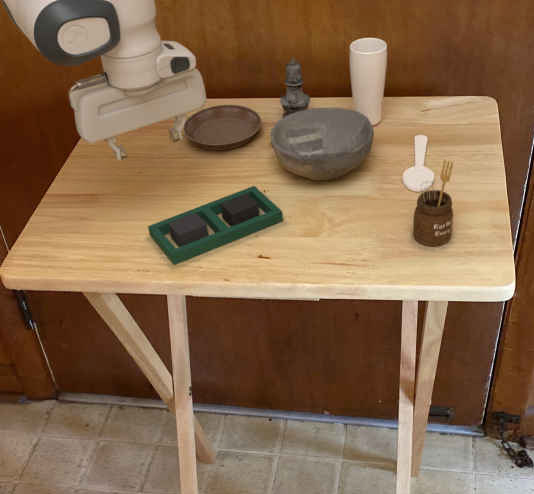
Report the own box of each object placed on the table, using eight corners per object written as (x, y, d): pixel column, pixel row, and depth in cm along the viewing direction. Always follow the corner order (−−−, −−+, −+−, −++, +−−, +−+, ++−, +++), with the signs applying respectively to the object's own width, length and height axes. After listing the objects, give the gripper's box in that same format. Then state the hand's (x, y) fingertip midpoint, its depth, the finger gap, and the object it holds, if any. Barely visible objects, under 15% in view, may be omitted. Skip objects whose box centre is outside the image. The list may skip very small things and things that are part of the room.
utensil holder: (405, 239, 128) (408, 173, 120) (427, 219, 131) (432, 154, 123) (437, 252, 125) (442, 186, 116) (459, 232, 128) (466, 166, 120)
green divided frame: (174, 265, 127) (172, 255, 126) (149, 235, 134) (147, 226, 132) (283, 221, 134) (282, 211, 132) (255, 195, 140) (254, 185, 139)
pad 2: (233, 229, 133) (231, 214, 131) (222, 218, 136) (220, 203, 134) (260, 219, 135) (258, 204, 133) (248, 207, 137) (246, 193, 135)
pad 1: (181, 250, 130) (178, 235, 128) (170, 238, 133) (168, 223, 131) (209, 239, 132) (206, 224, 130) (198, 227, 134) (195, 212, 132)
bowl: (348, 133, 153) (348, 94, 147) (391, 179, 140) (392, 138, 135) (258, 157, 149) (255, 117, 144) (294, 206, 137) (291, 165, 131)
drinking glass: (388, 113, 157) (390, 38, 147) (382, 130, 153) (383, 54, 143) (353, 111, 159) (353, 36, 149) (346, 128, 154) (345, 52, 144)
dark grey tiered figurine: (309, 124, 157) (306, 64, 149) (279, 123, 158) (274, 65, 150) (312, 109, 161) (310, 50, 153) (283, 109, 162) (279, 51, 154)
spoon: (436, 137, 149) (436, 134, 149) (433, 192, 136) (433, 189, 136) (406, 136, 150) (406, 134, 150) (401, 191, 137) (401, 188, 137)
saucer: (251, 158, 149) (250, 145, 147) (175, 154, 152) (173, 141, 150) (270, 118, 159) (269, 106, 158) (198, 115, 163) (196, 103, 161)
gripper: (73, 92, 112) (93, 178, 122) (205, 53, 119) (215, 138, 128) (58, 76, 117) (79, 160, 126) (186, 39, 123) (197, 122, 133)
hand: (148, 148), depth 127 cm, fingers open, 8 cm apart
